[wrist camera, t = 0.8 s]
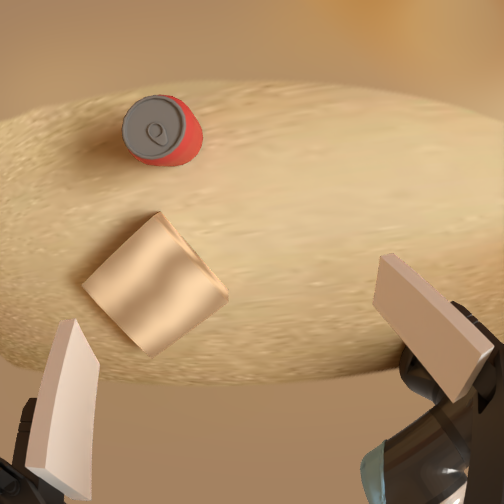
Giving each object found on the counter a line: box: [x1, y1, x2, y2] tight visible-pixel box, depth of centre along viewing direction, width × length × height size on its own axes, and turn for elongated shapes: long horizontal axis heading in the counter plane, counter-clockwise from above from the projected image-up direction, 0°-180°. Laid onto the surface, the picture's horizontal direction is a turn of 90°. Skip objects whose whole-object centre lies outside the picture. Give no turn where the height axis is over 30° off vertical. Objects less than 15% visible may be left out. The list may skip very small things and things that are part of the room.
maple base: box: [81, 211, 228, 359], centre depth 37 cm, size 13×13×4 cm
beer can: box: [122, 95, 203, 166], centre depth 29 cm, size 7×7×12 cm
